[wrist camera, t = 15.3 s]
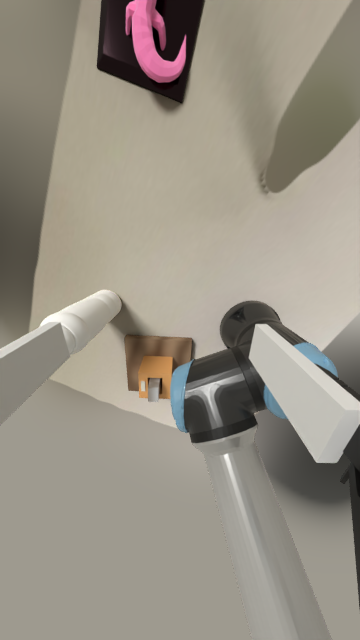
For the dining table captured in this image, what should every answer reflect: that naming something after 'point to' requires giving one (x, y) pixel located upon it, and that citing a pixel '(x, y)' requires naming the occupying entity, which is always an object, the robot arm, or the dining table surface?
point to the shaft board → (154, 347)
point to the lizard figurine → (149, 42)
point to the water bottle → (86, 318)
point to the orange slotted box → (155, 375)
